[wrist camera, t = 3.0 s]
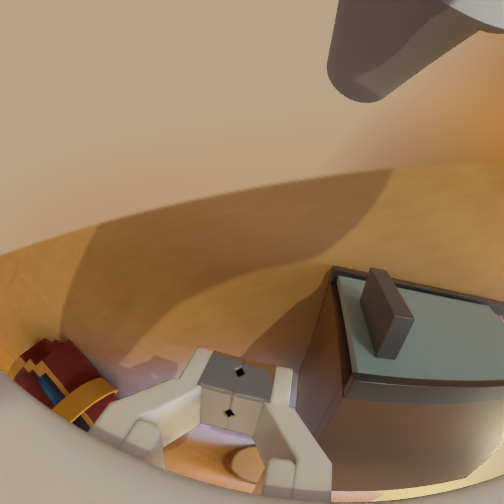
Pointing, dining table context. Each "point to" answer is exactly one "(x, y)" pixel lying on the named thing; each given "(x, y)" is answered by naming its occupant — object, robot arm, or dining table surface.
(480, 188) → the dining table surface
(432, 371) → the grey sliding lid
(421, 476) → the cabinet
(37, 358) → the decorative basket
